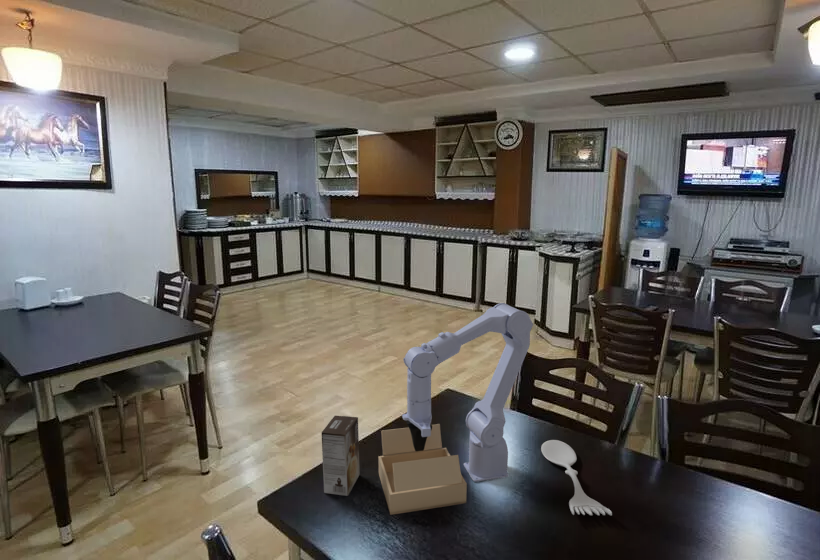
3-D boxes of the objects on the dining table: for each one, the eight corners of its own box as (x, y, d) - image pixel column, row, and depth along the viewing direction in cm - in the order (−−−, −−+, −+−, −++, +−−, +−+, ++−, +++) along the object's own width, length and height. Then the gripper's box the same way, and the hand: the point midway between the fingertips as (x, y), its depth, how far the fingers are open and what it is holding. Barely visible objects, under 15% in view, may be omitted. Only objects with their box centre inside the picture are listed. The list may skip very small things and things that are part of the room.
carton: (445, 465, 124) (445, 447, 123) (466, 503, 109) (466, 483, 108) (378, 474, 120) (378, 456, 119) (390, 514, 105) (390, 494, 104)
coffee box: (336, 471, 121) (334, 414, 119) (360, 474, 120) (358, 416, 117) (323, 493, 113) (320, 431, 110) (348, 497, 111) (346, 434, 108)
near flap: (395, 491, 105) (395, 492, 104) (392, 463, 107) (392, 463, 106) (461, 482, 108) (461, 482, 108) (457, 454, 110) (458, 454, 110)
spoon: (571, 525, 102) (572, 511, 101) (537, 447, 134) (537, 436, 133) (613, 526, 102) (614, 512, 101) (569, 448, 133) (569, 436, 133)
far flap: (441, 447, 123) (441, 447, 123) (439, 424, 124) (439, 424, 124) (383, 455, 119) (382, 454, 120) (381, 430, 120) (381, 430, 121)
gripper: (397, 386, 118) (397, 436, 120) (409, 412, 104) (409, 468, 107) (424, 384, 120) (423, 433, 122) (439, 409, 106) (439, 464, 108)
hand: (418, 449), depth 114 cm, fingers closed
